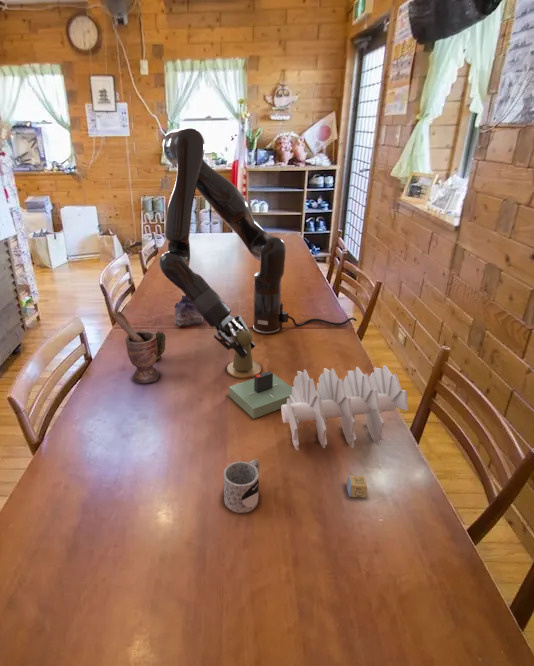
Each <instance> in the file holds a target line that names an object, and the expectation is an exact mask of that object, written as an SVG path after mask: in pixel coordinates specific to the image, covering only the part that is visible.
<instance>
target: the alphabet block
mask: <svg viewBox="0 0 534 666" xmlns="http://www.w3.org/2000/svg"><path fill="white" fill-rule="evenodd" d="M346 490H347V493H348V496H349V498H366V496H367V491H368V484H367V482H366V479H365V476H364V475H348V476H347V482H346Z"/></svg>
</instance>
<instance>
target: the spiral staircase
mask: <svg viewBox="0 0 534 666" xmlns="http://www.w3.org/2000/svg"><path fill="white" fill-rule="evenodd" d="M296 372H297V375H295V376H294V379H293V386H291V387H292V395H289V397H290V400H289V398H287V404H285V405H281V409H280V411H281V419H282V422H283V424H289V427H290V432H291V439H292V440H291V441H292V444H293V447H294V448H295V450H296V451H299V445H300V442H299V440H300V439H299V427H300V424H301V423H302V422H305V421H307V422H308V421H315V429H316V432H317V440H318V441H319V443H320V445H321V447H322V448H323V449H325V448H326V445H328V440H327V427H326V425H327V420H328V419H332V418H340V419H339V420H340V424H341V429H342V432H343V435H344V437H345V441H346V443H347V444H348V445H349V446H350V447H351V448H355V441H356V440H357V435H356V430H355V427H356V426H355V425H356V419H355V417H356V416H359V415H364V419H365V424H366V428H367V431H368V433H369V436H370V438H371V440H372V441H373V442H374V443H375V444H376V445H377V446H381V441H383V440H385V437H384V432H383V428H384V425H385V422H384V419H383V417H382V415H381V413H386V412H394V411H395V410H396V408H398V409H401V410H403V411H409V401H408V391H407V390H404V389H402V386H401V383H400V380H399V378H398V375H397V373H396V372H395V373H392V371H390V368H388V366H387V365H386V364H384V365H383V366H382V368H381V367H375V366H374V367H373V371H372V372H371V373H370V375H369V374H368V373H367V372H366V373H364V372H362V370H361V369H360V367H359V366H356V367H355V369H354V370H352V369H350V370H347V374H346V375H345V376H344V379H343V378H339V377H338V374H337V372H336V370H335V368H334V367H333V368H331V370H329V369H328V368H326V367H325V368H323V372H322V373H320V375H319V377H318V382H317V383H316V385H315V381H314V378H313V377H312V378H310V376H309V374H308V371H307V369H303V372H302V371H300V370H297V371H296Z"/></svg>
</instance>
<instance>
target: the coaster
mask: <svg viewBox="0 0 534 666" xmlns="http://www.w3.org/2000/svg"><path fill="white" fill-rule="evenodd" d="M226 371H227V373H228V374H229V376H232V377H234V378H239V379H249V378H254V376H255V375H257V374H261V371H262V366H261V365H260V364H259V363H258V362H257V361H254V360H253V368H252V369H251V370H248V371H238V370H236V369H234V368H233V361H231V362H229V363H228V365H227V367H226Z"/></svg>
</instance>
